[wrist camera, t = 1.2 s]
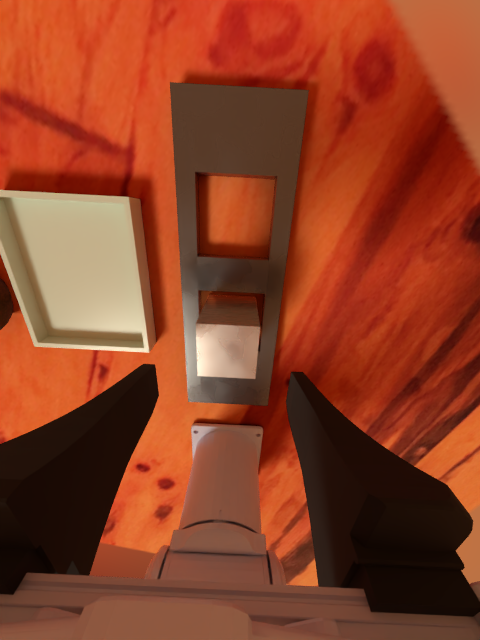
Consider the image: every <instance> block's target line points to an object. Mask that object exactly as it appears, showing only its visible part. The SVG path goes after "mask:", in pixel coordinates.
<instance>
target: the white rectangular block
mask: <svg viewBox="0 0 480 640" xmlns="http://www.w3.org/2000/svg"><path fill="white" fill-rule="evenodd" d="M259 334H260V322H259V315H258V309H257V302H256V297H252V296H233V295H214V294H209V296H208V298H207V300H206V302H205V304H204V307H203V309H202V311H201V313H200V315H199V317H198V320H197V322H196V349H197V376H207V377H227V378H247V379H255V377H256V366H257V356H258V345H259Z"/></svg>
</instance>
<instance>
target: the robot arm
mask: <svg viewBox="0 0 480 640" xmlns="http://www.w3.org/2000/svg"><path fill="white" fill-rule="evenodd" d="M158 396H159V392H158V384H157V376H156V368H155V365H154V364H143V365H141V366H140V367H138V368H137V369H135V370H134V371H133V372H131V373H130V374H129V375H127V376H126V377H124V378H123V379H122V380H120V381H119V382H117V383H116V384H115V385H113V386H112V387H110V388H109V389H107V390H106V391H104V392H103V393H101V394H100V395H98V396H97V397H95V398H93V399H92V400H90V401H89V402H87V403H85V404H84V405H82V406H80V407H79V408H77V409H75V410H73V411H71V412H69V413H68V414H66V415H64V416H62V417H60V418H58V419H56V420H54V421H52V422H50V423H48V424H46V425H44V426H41V427H39V428H37V429H35V430H33V431H31V432H28V433H26V434H24V435H21V436H19V437H17V438H14V439H12V440H9V441H7V442H4V443H2V444H0V640H480V581H479V582H474V583H471V584H469V583H468V582H467V580H466V578H465V576H464V575H463V573H462V572H461V570H463V569H464V564H463V562H462V560H461V559H460V557H459V556H458V554H457V553H456V549H457V548H458V547H459V546H460V545H461V544H462V543H463V541H464V540H465V539H466V538H467V537H468V536H469V534H470V533H471V531H472V526H473V520H472V518H471V516H470V514H469V513H468V512H467V510H466V509H465V508H464V506H463V505H462V504H461V503H460V501H459V500H458V499H457V497H456V496H455V495H454V493H453V492H452V491H451V489H450V488H449V487H448V486H447V485H446V484H444V483H443V482H441V481H439V480H437V479H436V478H434V477H432V476H430V475H428V474H427V473H425V472H423V471H421V470H420V469H418V468H416V467H414V466H413V465H411V464H409V463H408V462H406V461H405V460H403V459H402V458H400V457H398V456H397V455H395V454H394V453H392V452H391V451H389V450H388V449H386V448H385V447H383V446H382V445H380V444H379V443H378V442H376V441H375V440H374V439H372V438H371V437H369V436H368V435H367V434H365V433H364V432H363V431H362V430H360V429H359V428H358V427H357V426H356V425H354V424H353V423H352V422H351V421H350V420H348V419H347V418H346V417H345V416H344V415H343V414H342V413H341V412H340V411H339V410H338V409H336V408H335V407H334V406H333V405H332V404H331V403H330V402H329V401H328V400H327V399H326V398H325V396H324V395H323V394H322V393H321V392H320V391H319V390H318V389H317V388H316V387H315V385H314V384H313V383H312V382H311V381H310V380H309V379H308V378H307V376H306V375H305V374H304V373H303V372H291V376H290V382H289V387H288V393H287V399H286V404H287V412H288V419H289V423H290V427H291V431H292V435H293V438H294V442H295V446H296V450H297V453H298V457H299V461H300V465H301V469H302V474H303V480H304V486H305V492H306V498H307V504H308V511H309V517H310V524H311V531H312V538H313V546H314V553H315V561H316V569H317V577H318V585H319V587H314V586H293V585H286V580H285V574H284V570H283V566H282V564H281V562H280V560H279V559H278V558H277V556H276V554H275V552H274V551H269V550H266V538H265V534H261V517H260V498H259V480H258V468H259V460H260V452H261V444H262V436H263V428H262V427H260V426H245V425H226V424H206V423H194V424H192V428H191V432H192V450H193V464H192V468H191V473H190V478H189V483H188V487H187V492H186V497H185V501H184V506H183V511H182V516H181V520H180V525H179V530H174V531H173V535H172V539H171V544H170V546H167V545H164V546H162V547H161V548H160V550H159V551H158V553H157V554H156V555H155V556H154V557H153V558H152V560H151V562H150V564H149V566H148V569H147V572H146V574H145V578H128V577H127V578H126V577H107V576H106V577H105V576H89V574H90V571H91V568H92V565H93V561H94V558H95V555H96V552H97V548H98V546H99V542H100V539H101V536H102V533H103V530H104V528H105V525H106V522H107V519H108V516H109V513H110V510H111V507H112V504H113V502H114V499H115V496H116V493H117V491H118V488H119V485H120V483H121V480H122V477H123V475H124V472H125V470H126V467H127V465H128V462H129V460H130V458H131V456H132V454H133V451H134V449H135V447H136V445H137V443H138V441H139V439H140V437H141V435H142V433H143V431H144V429H145V427H146V425H147V423H148V421H149V419H150V417H151V415H152V413H153V410H154V408H155V405H156V402H157V399H158ZM195 430H196V431H195Z"/></svg>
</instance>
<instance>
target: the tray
mask: <svg viewBox="0 0 480 640" xmlns="http://www.w3.org/2000/svg"><path fill="white" fill-rule="evenodd" d="M0 254H1V257H2V260H3V262H4V265H5V268H6V270H7V273H8V276H9V278H10V281H11V284H12V287H13V289H14V292H15V295H16V297H17V300H18V303H19V305H20V308H21V311H22V314H23V316H24V319H25V322H26V324H27V327H28V330H29V333H30V335H31V338H32V341H33V343H34V346H35V347H54V348H73V349H92V350H111V351H131V352H150V351H151V349H152V348H153V347H154V345H155V344H156V342H157V341H156V332H155V324H154V315H153V306H152V298H151V289H150V280H149V272H148V263H147V254H146V246H145V237H144V228H143V220H142V211H141V202H140V199H137V198H132V197H121V196H103V195H84V194H66V193H47V192H29V191H11V190H0Z"/></svg>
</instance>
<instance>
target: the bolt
mask: <svg viewBox="0 0 480 640" xmlns="http://www.w3.org/2000/svg"><path fill="white" fill-rule="evenodd" d="M12 312H13V302H12V299H11V295H10V292H9V289H8V288H7V286H6V284H5V283H4V282H3V280H2V279H0V330H1V329H2V328H3V327H4V326H5V325H6V324H7V323H8V321H9V319H10V318H11V315H12Z"/></svg>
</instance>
